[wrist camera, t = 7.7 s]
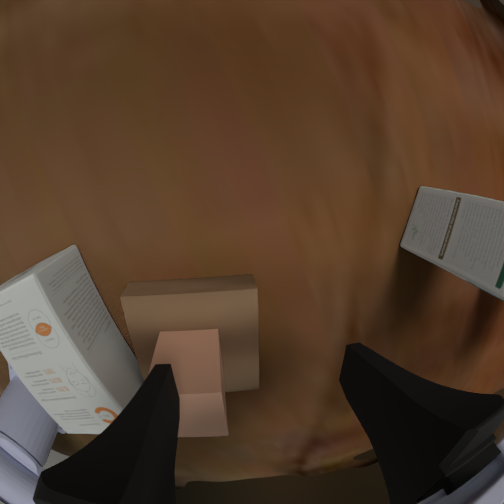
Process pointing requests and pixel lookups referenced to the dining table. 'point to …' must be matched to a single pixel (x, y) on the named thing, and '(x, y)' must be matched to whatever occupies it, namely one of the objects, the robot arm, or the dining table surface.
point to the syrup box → (459, 236)
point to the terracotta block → (196, 380)
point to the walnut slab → (198, 320)
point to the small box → (67, 344)
